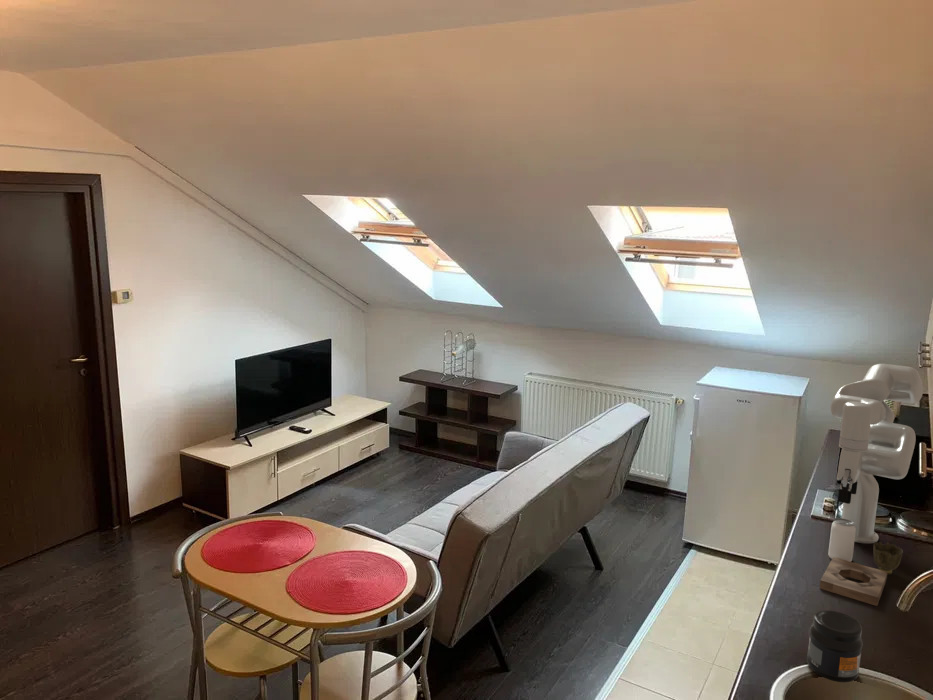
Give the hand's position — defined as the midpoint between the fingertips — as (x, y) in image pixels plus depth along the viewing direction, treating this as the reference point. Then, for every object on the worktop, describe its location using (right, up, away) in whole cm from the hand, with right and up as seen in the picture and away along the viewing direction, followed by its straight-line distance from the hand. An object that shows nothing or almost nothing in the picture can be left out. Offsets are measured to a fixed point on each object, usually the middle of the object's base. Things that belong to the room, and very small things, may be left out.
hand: (847, 497), depth 201 cm
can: (0, -20, +4) cm, 20 cm away
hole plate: (-5, -22, -12) cm, 26 cm away
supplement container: (-32, -28, -50) cm, 66 cm away
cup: (+9, -21, -5) cm, 23 cm away
